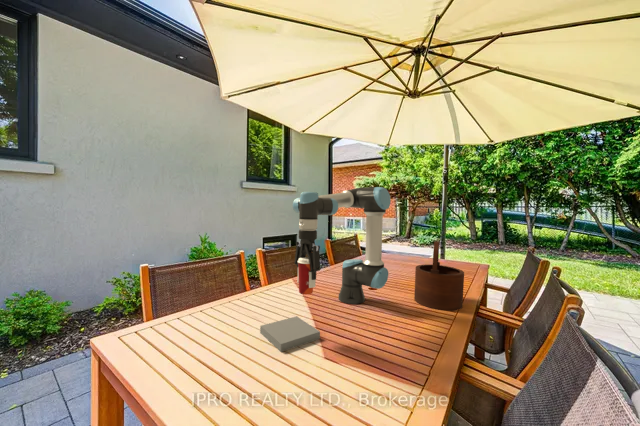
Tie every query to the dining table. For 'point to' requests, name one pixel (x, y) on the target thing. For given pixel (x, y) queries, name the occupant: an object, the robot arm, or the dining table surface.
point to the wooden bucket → (439, 285)
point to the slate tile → (289, 333)
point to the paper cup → (304, 276)
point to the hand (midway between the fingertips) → (306, 284)
